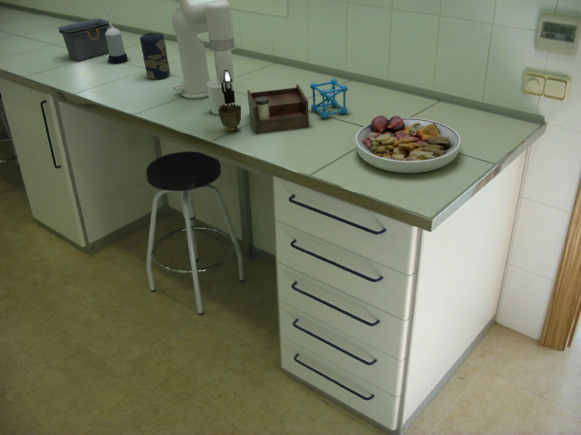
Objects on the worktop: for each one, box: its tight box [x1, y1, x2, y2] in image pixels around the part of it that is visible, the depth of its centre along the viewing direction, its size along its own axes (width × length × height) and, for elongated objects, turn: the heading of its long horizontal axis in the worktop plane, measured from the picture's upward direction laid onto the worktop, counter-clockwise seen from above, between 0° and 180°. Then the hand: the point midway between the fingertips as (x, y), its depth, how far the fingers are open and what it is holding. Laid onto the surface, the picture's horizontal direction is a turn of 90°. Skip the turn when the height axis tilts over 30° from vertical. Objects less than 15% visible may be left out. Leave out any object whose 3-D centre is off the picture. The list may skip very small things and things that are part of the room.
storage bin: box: [57, 18, 110, 62], centre depth 272 cm, size 21×16×14 cm
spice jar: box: [255, 97, 270, 121], centre depth 191 cm, size 4×4×7 cm
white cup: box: [207, 79, 231, 115], centre depth 207 cm, size 8×8×10 cm
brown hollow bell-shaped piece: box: [218, 103, 242, 133], centre depth 193 cm, size 8×7×8 cm
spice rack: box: [246, 83, 310, 135], centre depth 197 cm, size 18×16×9 cm
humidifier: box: [104, 2, 129, 65], centre depth 260 cm, size 8×8×25 cm
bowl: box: [354, 115, 462, 174], centre depth 172 cm, size 30×30×8 cm
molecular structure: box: [309, 78, 349, 120], centre depth 201 cm, size 10×10×10 cm
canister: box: [139, 32, 171, 80], centre depth 241 cm, size 10×10×18 cm
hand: (228, 97), depth 189 cm, fingers open, 9 cm apart
